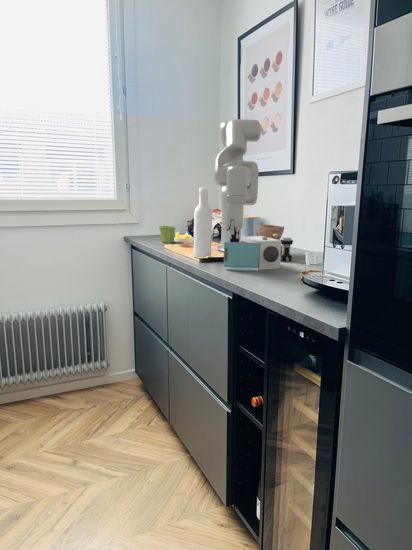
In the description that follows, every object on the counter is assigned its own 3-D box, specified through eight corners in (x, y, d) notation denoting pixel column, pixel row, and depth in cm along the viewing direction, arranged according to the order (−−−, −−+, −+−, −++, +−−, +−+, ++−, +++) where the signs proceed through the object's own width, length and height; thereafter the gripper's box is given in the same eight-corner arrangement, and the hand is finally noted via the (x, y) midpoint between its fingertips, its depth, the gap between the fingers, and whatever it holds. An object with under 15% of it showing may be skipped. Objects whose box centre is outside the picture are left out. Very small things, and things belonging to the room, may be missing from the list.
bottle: (196, 258, 177) (198, 187, 171) (190, 255, 184) (191, 187, 178) (214, 258, 180) (215, 188, 174) (207, 255, 187) (208, 187, 181)
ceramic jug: (290, 260, 179) (292, 227, 176) (258, 260, 177) (260, 227, 174) (277, 254, 197) (279, 224, 194) (247, 254, 194) (249, 223, 191)
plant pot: (156, 241, 228) (156, 225, 226) (172, 240, 232) (172, 225, 230) (162, 243, 219) (162, 227, 218) (178, 243, 223) (178, 227, 221)
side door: (223, 267, 156) (224, 242, 154) (223, 266, 157) (224, 241, 155) (259, 268, 155) (260, 243, 153) (259, 268, 156) (260, 243, 154)
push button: (281, 262, 173) (282, 239, 170) (274, 260, 177) (275, 237, 175) (294, 261, 175) (295, 238, 173) (287, 259, 180) (288, 237, 178)
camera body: (239, 263, 169) (240, 234, 167) (260, 262, 173) (261, 234, 171) (260, 270, 155) (261, 239, 153) (282, 269, 160) (283, 238, 157)
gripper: (230, 199, 162) (229, 245, 166) (221, 200, 148) (220, 251, 152) (249, 199, 160) (247, 246, 164) (242, 201, 146) (240, 252, 150)
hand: (234, 248), depth 158 cm, fingers closed
